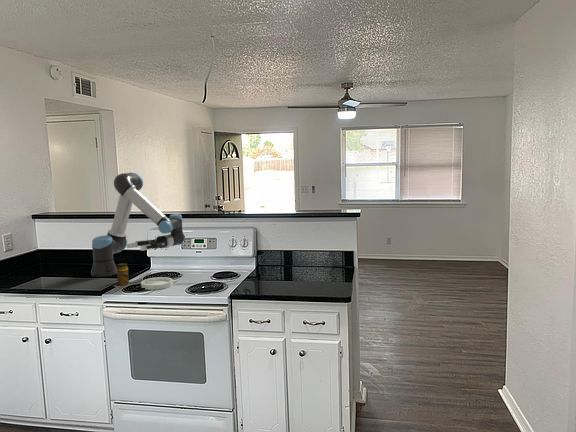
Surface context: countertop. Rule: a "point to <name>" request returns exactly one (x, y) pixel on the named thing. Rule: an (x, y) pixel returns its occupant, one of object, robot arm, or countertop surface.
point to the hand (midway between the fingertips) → (134, 247)
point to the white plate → (157, 283)
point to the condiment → (122, 275)
